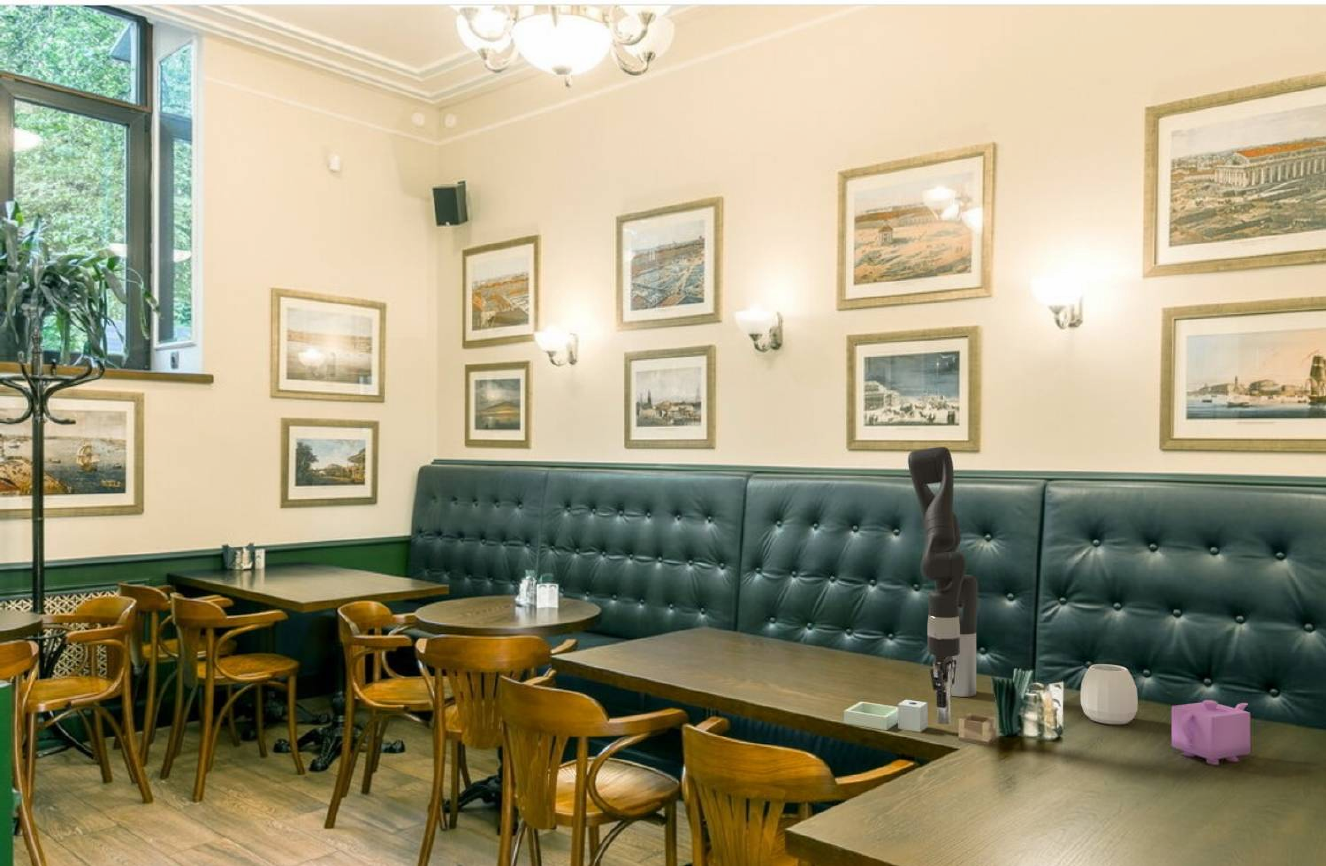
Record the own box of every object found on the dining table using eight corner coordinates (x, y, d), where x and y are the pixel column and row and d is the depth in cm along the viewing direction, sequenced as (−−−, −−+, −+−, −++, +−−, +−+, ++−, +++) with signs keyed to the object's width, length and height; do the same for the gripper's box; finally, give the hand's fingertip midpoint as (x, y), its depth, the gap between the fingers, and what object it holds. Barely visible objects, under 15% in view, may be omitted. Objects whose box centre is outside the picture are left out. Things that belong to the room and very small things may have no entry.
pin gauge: (939, 720, 243) (939, 670, 243) (952, 721, 241) (951, 672, 241) (935, 723, 240) (935, 673, 240) (948, 724, 239) (948, 674, 239)
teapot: (1202, 768, 214) (1202, 709, 214) (1163, 754, 224) (1163, 698, 224) (1268, 758, 222) (1268, 701, 222) (1227, 745, 231) (1227, 691, 231)
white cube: (905, 723, 248) (905, 699, 248) (927, 727, 245) (927, 702, 245) (898, 728, 244) (898, 703, 244) (919, 732, 241) (920, 707, 241)
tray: (860, 713, 257) (861, 701, 257) (902, 720, 251) (902, 707, 251) (844, 723, 248) (844, 710, 248) (886, 730, 242) (886, 717, 242)
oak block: (967, 734, 239) (967, 713, 240) (995, 738, 236) (995, 717, 236) (958, 741, 234) (958, 719, 234) (988, 746, 230) (988, 724, 230)
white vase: (1137, 717, 255) (1137, 665, 255) (1138, 730, 243) (1138, 675, 243) (1081, 711, 260) (1081, 660, 260) (1079, 724, 248) (1079, 670, 248)
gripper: (937, 627, 249) (937, 697, 249) (919, 637, 237) (919, 710, 237) (967, 630, 245) (967, 701, 245) (950, 640, 233) (950, 714, 233)
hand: (943, 705), depth 241 cm, fingers closed on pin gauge, 3 cm apart
